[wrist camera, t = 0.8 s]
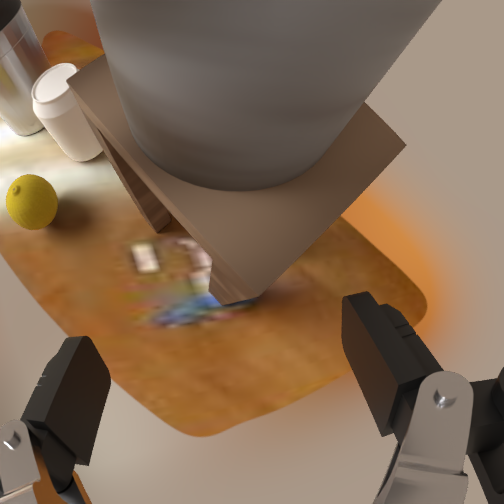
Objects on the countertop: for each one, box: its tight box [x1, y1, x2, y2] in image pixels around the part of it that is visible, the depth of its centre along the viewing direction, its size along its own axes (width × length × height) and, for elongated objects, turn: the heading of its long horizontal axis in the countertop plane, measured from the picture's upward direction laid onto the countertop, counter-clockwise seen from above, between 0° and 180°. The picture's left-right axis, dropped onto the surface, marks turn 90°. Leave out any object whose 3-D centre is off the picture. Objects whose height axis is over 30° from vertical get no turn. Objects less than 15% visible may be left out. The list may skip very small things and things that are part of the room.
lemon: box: [6, 174, 58, 230], centre depth 26 cm, size 6×6×8 cm
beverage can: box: [32, 63, 103, 161], centre depth 26 cm, size 6×6×12 cm
